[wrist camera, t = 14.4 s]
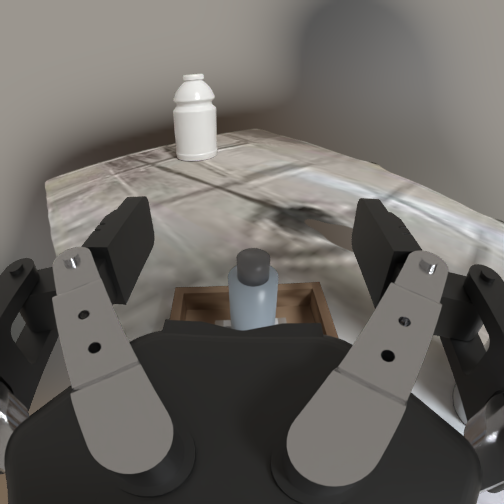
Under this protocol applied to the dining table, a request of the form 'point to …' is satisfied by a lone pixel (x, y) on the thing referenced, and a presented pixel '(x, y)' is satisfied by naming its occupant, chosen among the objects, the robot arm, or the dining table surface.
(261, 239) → the dining table surface
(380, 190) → the dining table surface
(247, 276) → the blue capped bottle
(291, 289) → the wooden box
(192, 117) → the bottle
